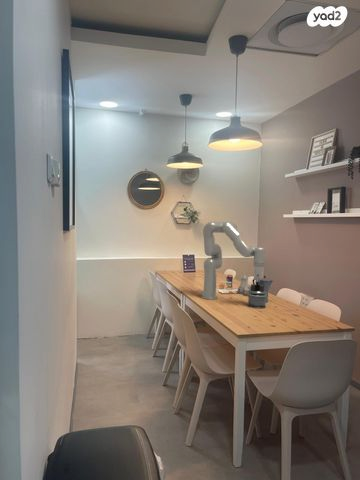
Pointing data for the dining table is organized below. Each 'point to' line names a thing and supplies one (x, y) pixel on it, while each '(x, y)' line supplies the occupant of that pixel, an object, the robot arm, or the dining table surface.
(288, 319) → the dining table surface
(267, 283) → the moka pot
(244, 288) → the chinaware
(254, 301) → the pot
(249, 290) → the lid
